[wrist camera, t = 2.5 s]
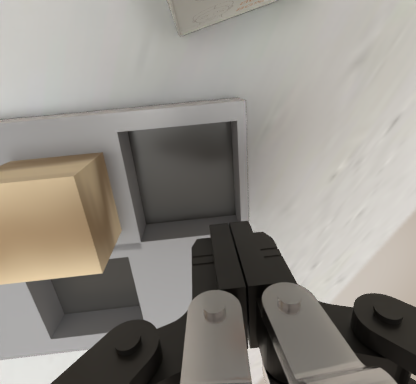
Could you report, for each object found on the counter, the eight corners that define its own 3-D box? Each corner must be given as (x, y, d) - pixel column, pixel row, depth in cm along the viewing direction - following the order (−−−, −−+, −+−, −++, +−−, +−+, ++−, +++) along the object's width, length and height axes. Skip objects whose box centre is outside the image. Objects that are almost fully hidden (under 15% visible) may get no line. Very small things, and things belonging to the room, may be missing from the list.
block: (10, 161, 14) (-52, 188, 11) (102, 152, 15) (73, 176, 11) (40, 239, 16) (-3, 284, 13) (121, 230, 16) (102, 273, 13)
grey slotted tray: (-131, 132, 16) (-246, 150, 12) (237, 97, 16) (254, 103, 12) (-14, 335, 22) (-60, 393, 18) (245, 304, 23) (258, 354, 19)
